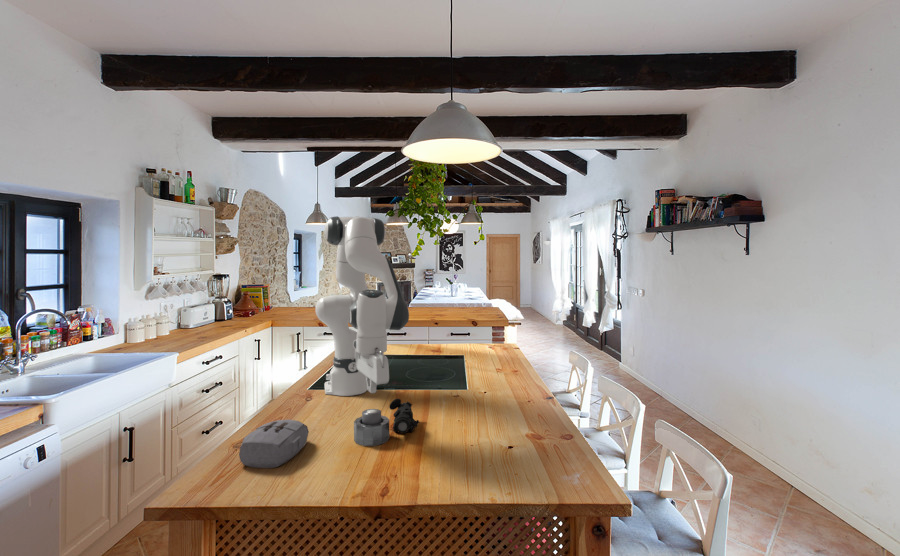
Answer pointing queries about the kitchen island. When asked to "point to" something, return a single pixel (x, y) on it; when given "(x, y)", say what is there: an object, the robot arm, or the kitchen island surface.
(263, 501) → the kitchen island surface
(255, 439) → the grey rounded bag
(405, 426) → the night vision scope
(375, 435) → the grey faceted round container
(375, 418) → the white-tipped grey cylinder
